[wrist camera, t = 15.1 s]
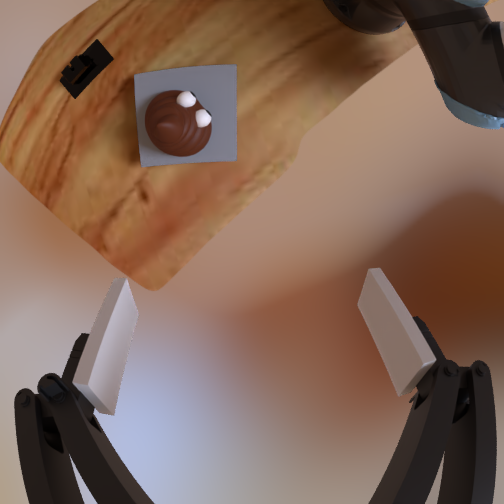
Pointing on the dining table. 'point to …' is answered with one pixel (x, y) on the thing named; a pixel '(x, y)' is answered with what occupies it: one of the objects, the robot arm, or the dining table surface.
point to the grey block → (209, 96)
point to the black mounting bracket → (85, 68)
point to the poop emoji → (178, 123)
